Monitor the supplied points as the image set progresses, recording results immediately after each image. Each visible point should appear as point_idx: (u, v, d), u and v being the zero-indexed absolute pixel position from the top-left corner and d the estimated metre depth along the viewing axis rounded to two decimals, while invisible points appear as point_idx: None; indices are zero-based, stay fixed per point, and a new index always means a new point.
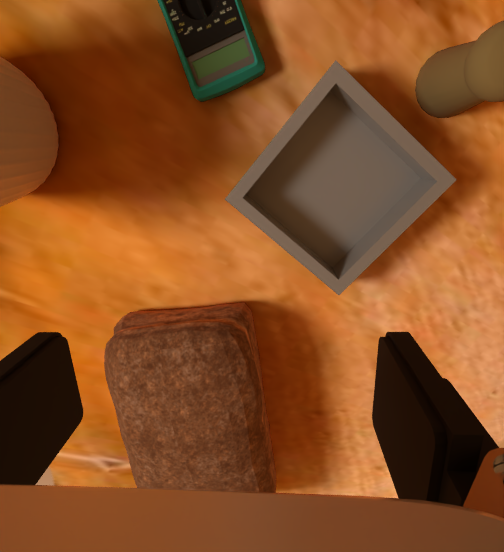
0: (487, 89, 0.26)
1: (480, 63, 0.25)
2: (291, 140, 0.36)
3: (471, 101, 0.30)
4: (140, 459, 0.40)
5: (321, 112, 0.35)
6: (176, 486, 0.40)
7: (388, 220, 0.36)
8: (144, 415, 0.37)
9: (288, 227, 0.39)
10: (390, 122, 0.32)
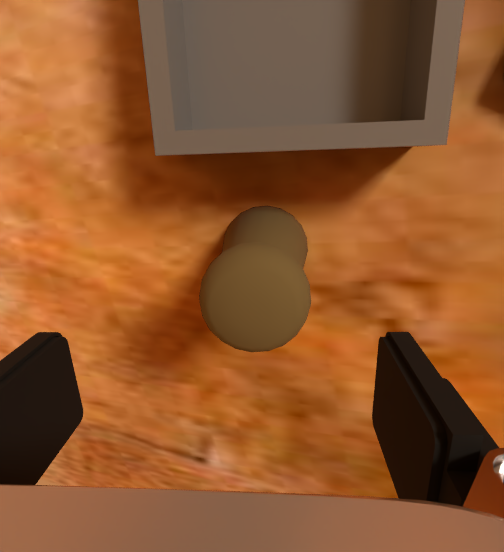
0: (247, 254, 0.15)
1: (288, 270, 0.15)
2: (405, 14, 0.20)
3: (237, 241, 0.20)
4: None
5: (389, 91, 0.21)
6: None
7: (175, 28, 0.19)
8: None
9: None
10: (305, 140, 0.19)
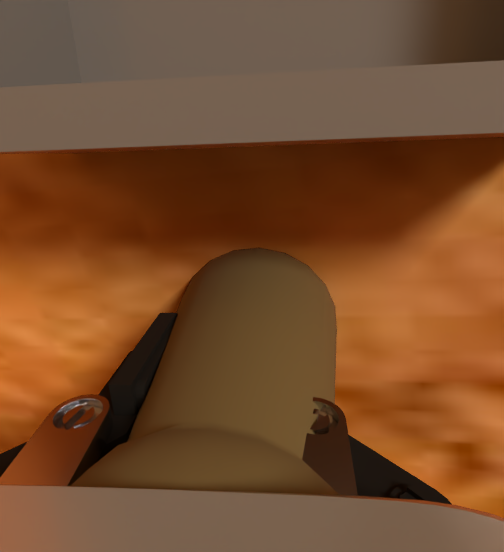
0: None
1: None
2: None
3: (174, 368, 0.08)
4: None
5: None
6: None
7: None
8: None
9: None
10: (331, 114, 0.07)
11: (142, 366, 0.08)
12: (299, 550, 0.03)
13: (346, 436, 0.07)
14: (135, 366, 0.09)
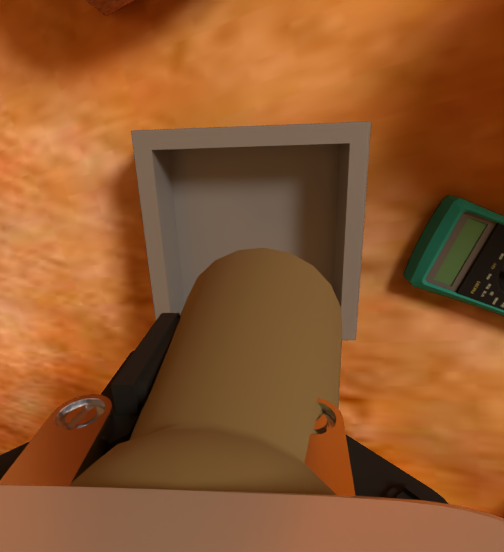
0: None
1: None
2: (332, 237, 0.29)
3: (176, 367, 0.08)
4: None
5: None
6: None
7: (171, 253, 0.28)
8: None
9: (258, 149, 0.27)
10: None
11: (144, 366, 0.08)
12: (299, 550, 0.03)
13: (343, 436, 0.07)
14: (137, 366, 0.09)
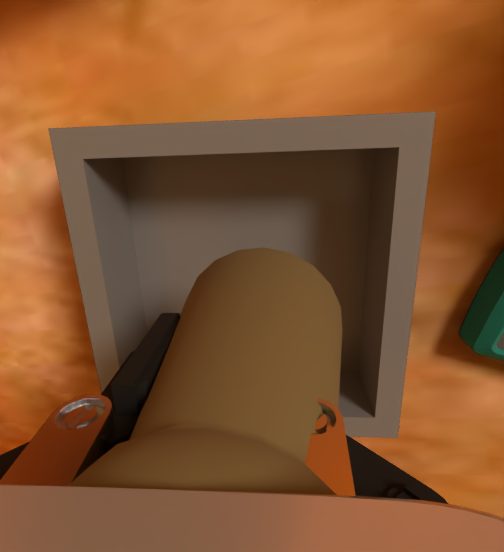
0: None
1: None
2: (360, 282, 0.20)
3: (175, 367, 0.08)
4: None
5: (346, 343, 0.21)
6: None
7: (127, 307, 0.19)
8: None
9: (253, 156, 0.18)
10: None
11: (144, 366, 0.08)
12: (299, 550, 0.03)
13: (344, 436, 0.07)
14: (137, 366, 0.09)
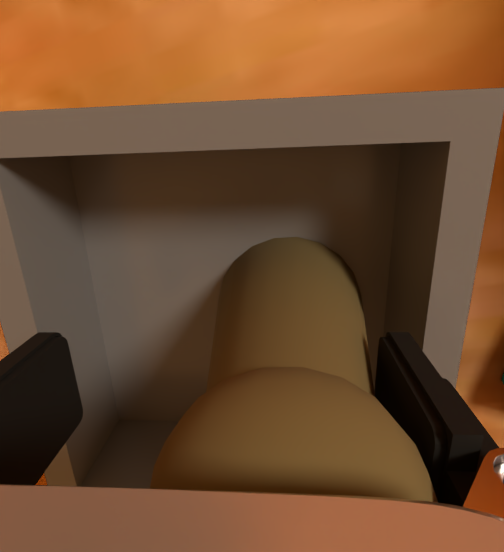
0: (282, 446, 0.05)
1: None
2: (379, 316, 0.15)
3: (246, 329, 0.09)
4: None
5: None
6: None
7: (77, 352, 0.15)
8: None
9: (241, 154, 0.14)
10: None
11: None
12: (299, 550, 0.03)
13: None
14: None
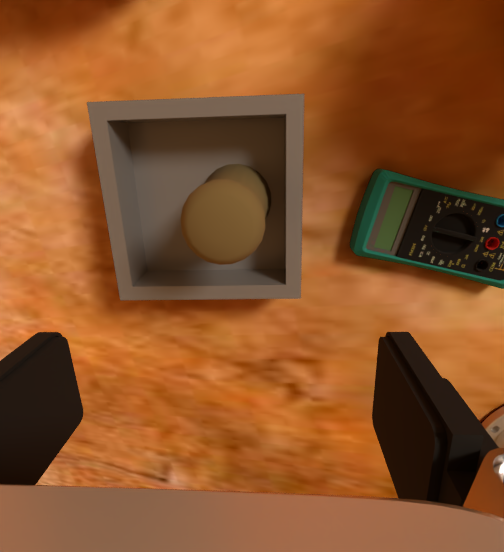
0: (217, 185, 0.21)
1: (248, 198, 0.21)
2: (281, 206, 0.31)
3: None
4: None
5: (275, 249, 0.32)
6: None
7: (131, 220, 0.30)
8: None
9: (210, 122, 0.29)
10: (215, 294, 0.30)
11: None
12: (299, 550, 0.03)
13: None
14: None
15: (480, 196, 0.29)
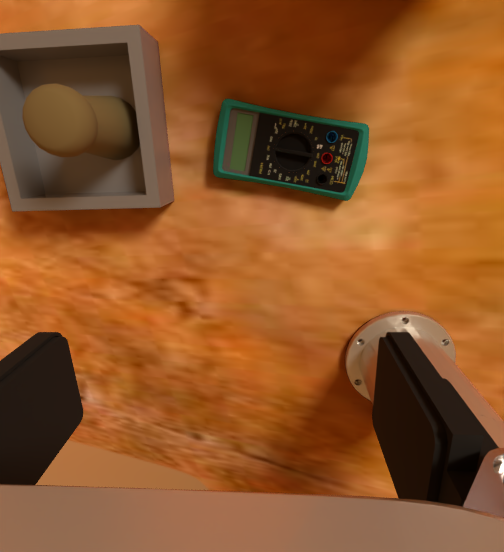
0: (46, 85, 0.26)
1: (69, 95, 0.26)
2: None
3: None
4: None
5: None
6: None
7: (21, 143, 0.36)
8: None
9: (84, 59, 0.35)
10: (89, 204, 0.35)
11: None
12: (299, 550, 0.03)
13: None
14: None
15: (310, 116, 0.34)
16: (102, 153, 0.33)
